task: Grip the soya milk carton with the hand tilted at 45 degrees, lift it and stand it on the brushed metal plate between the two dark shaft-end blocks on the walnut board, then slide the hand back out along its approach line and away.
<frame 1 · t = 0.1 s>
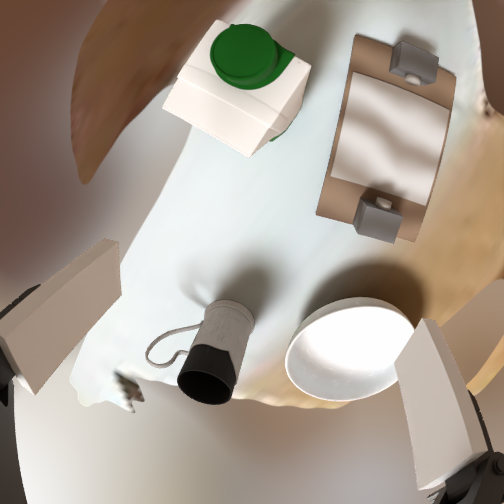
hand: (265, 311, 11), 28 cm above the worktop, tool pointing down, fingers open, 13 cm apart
soya milk: (264, 105, 33), on the worktop
spacer cradle: (391, 139, 31), on the worktop
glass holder: (213, 316, 48), on the worktop
serving bowl: (349, 332, 45), on the worktop
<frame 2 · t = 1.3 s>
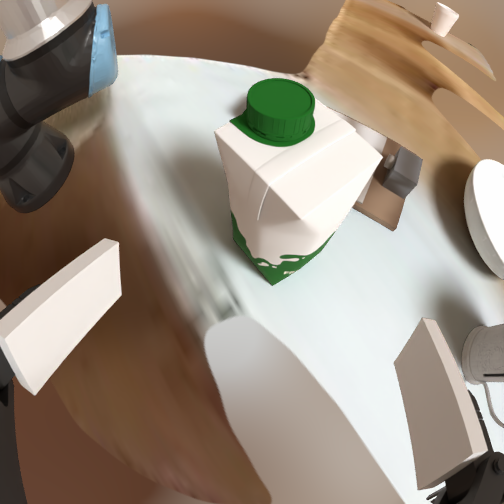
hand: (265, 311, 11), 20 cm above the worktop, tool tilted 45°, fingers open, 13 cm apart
soya milk: (275, 245, 33), on the worktop
foam cup: (437, 32, 62), on the worktop
spacer cradle: (330, 148, 38), on the worktop
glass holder: (474, 373, 27), on the worktop
serving bowl: (490, 233, 35), on the worktop
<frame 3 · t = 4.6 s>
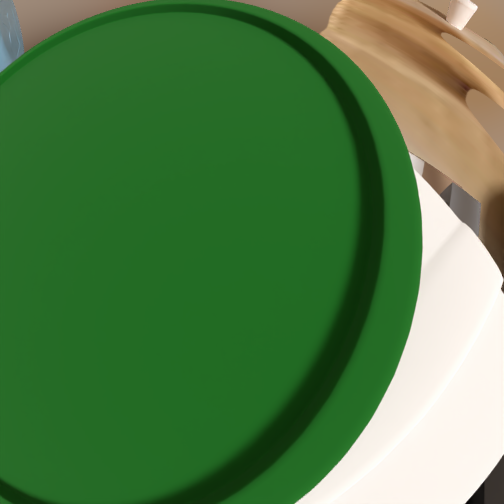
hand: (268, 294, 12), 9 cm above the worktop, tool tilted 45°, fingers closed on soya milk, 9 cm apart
soya milk: (249, 358, 20), on the worktop, touching gripper
foam cup: (453, 25, 49), on the worktop
spacer cradle: (342, 181, 24), on the worktop
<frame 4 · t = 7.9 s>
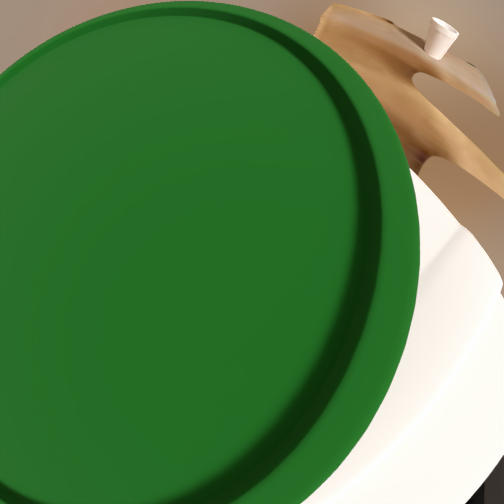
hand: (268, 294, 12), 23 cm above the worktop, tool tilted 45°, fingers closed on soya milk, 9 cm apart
soya milk: (248, 359, 20), point 14 cm above the worktop, touching gripper
foam cup: (432, 54, 58), on the worktop
when the fingers open (11 cm above the worktop, at t = 11.6 s): soya milk moves 2 cm, point 1 cm above the worktop.
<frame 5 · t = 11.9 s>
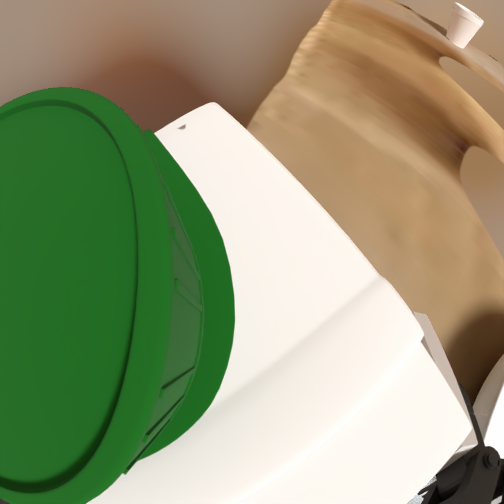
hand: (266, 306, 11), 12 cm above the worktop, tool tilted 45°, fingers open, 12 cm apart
soya milk: (217, 357, 20), point 1 cm above the worktop, touching gripper
foam cup: (454, 42, 46), on the worktop
serving bowl: (496, 419, 18), on the worktop
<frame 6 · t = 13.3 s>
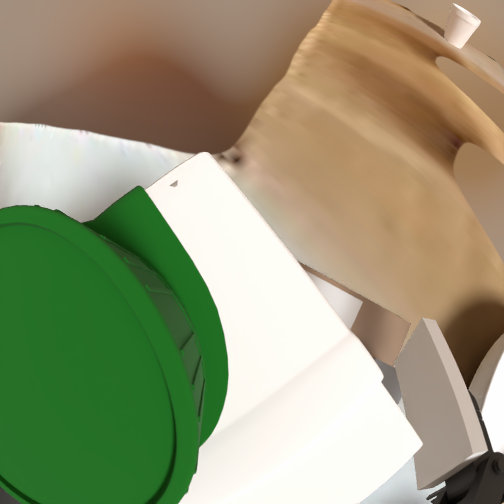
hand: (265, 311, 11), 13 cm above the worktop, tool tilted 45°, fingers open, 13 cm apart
soya milk: (203, 337, 21), point 2 cm above the worktop, touching spacer cradle
foam cup: (452, 42, 48), on the worktop
spacer cradle: (251, 337, 23), on the worktop
serving bowl: (492, 407, 20), on the worktop
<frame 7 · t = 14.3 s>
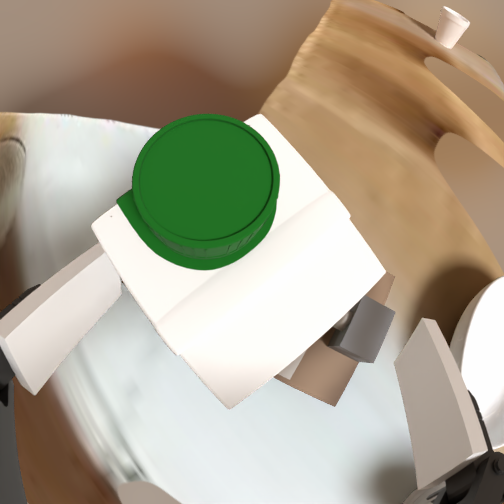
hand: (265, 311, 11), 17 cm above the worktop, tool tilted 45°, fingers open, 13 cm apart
soya milk: (221, 281, 27), point 2 cm above the worktop, touching gripper, spacer cradle
foam cup: (443, 43, 53), on the worktop
spacer cradle: (260, 284, 29), on the worktop
serving bowl: (479, 364, 25), on the worktop
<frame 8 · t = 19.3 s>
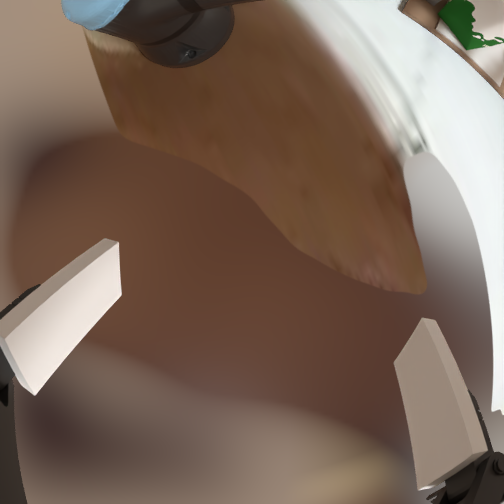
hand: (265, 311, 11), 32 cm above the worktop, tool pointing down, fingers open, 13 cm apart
soya milk: (462, 25, 22), point 1 cm above the worktop, touching spacer cradle
spacer cradle: (476, 33, 22), on the worktop
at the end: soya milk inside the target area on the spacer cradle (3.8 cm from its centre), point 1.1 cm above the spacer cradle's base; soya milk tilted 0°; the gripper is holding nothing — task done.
